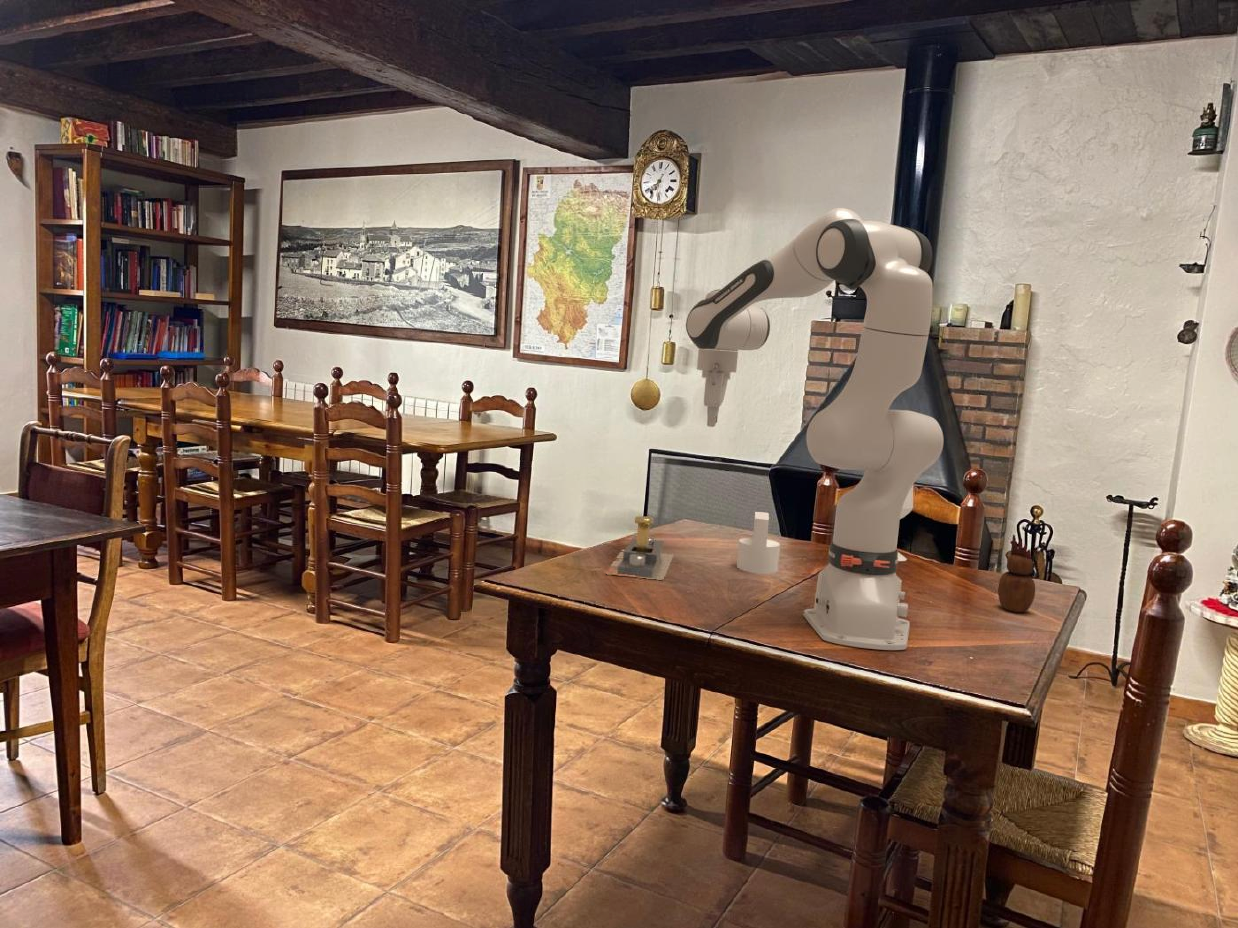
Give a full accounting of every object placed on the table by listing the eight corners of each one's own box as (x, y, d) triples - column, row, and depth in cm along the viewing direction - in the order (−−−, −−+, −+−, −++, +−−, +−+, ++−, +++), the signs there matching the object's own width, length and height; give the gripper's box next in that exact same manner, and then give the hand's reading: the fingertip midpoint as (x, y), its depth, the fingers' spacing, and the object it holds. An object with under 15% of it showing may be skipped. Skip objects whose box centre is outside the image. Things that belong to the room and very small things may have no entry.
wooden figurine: (990, 605, 182) (999, 533, 180) (1012, 604, 184) (1021, 532, 182) (1015, 615, 175) (1025, 540, 173) (1038, 614, 177) (1047, 540, 175)
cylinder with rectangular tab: (777, 575, 195) (782, 521, 193) (736, 571, 196) (740, 517, 194) (777, 566, 203) (782, 514, 202) (737, 561, 205) (741, 510, 203)
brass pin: (649, 566, 193) (652, 520, 192) (631, 564, 194) (633, 518, 193) (651, 562, 197) (654, 517, 196) (633, 560, 198) (636, 515, 196)
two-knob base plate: (663, 581, 183) (664, 560, 183) (605, 574, 185) (606, 554, 184) (673, 556, 206) (675, 537, 205) (622, 550, 208) (623, 532, 207)
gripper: (730, 365, 190) (724, 429, 192) (732, 364, 210) (727, 422, 212) (700, 362, 191) (695, 427, 193) (705, 362, 211) (700, 420, 213)
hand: (712, 424), depth 203 cm, fingers open, 8 cm apart
